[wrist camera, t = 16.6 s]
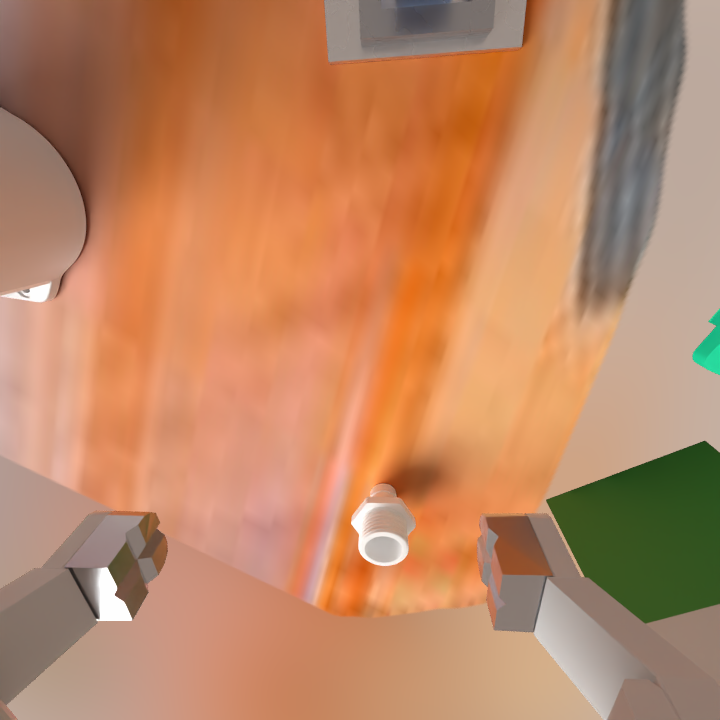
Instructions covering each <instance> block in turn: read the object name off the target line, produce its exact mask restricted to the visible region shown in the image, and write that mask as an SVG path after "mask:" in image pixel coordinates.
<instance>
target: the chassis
mask: <svg viewBox="0 0 720 720" xmlns="http://www.w3.org/2000/svg"><path fill="white" fill-rule="evenodd" d="M526 2H527V0H324V4H325V18H326V33H327V47H328V61H329V64H330V65H334V64H347V63H359V62H372V61H385V60H398V59H411V58H424V57H436V56H449V55H462V54H475V53H488V52H500V51H513V50H519V49H520V48H521V47H522V41H523V31H524V21H525V11H526Z"/></svg>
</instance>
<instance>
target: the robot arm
mask: <svg viewBox="0 0 720 720" xmlns="http://www.w3.org/2000/svg"><path fill="white" fill-rule="evenodd" d="M85 235H86V215H85V208H84V204H83V200H82V196H81V193H80V191H79V188H78V186H77V183H76V181H75V179H74V177H73V175H72V173H71V171H70V170H69V168H68V166H67V165H66V163H65V162H64V160H63V159H62V157H61V156H60V155H59V153H58V152H57V151H56V150H55V148H54V147H53V146H52V145H51V144H50V143H49V142H48V141H47V140H46V139H45V138H44V137H43V136H42V135H41V134H40V133H39V132H38V131H36V130H35V129H34V128H33V127H31V126H30V125H29V124H27V123H26V122H24V121H23V120H21V119H20V118H18V117H16V116H15V115H13V114H11V113H9V112H8V111H6V110H4V109H3V108H1V107H0V296H1V297H8V298H14V299H20V300H27V301H33V302H46V301H50V300H53V299H54V298H55V297H56V295H57V292H58V289H59V285H60V280H61V277H62V275H63V274H64V272H65V271H66V270H67V269H68V268H69V267H70V266H71V265H72V264H73V263H74V262H75V261H76V259H77V258H78V256H79V254H80V252H81V250H82V248H83V244H84V241H85ZM29 289H30V290H29ZM159 524H160V521H159V519H158V517H157V514H156V513H152V512H130V511H94V512H93V513H91V514H89V515H88V516H87V517H86V518H85V519H84V520H83V521H82V523H81V524H80V525H79V526H78V527H77V528H76V529H75V530H74V531H73V533H72V534H71V535H70V536H69V537H68V538H67V539H66V540H65V542H64V543H63V544H62V545H61V546H60V547H59V548H58V549H57V550H56V552H55V553H54V554H53V555H52V556H51V557H50V558H49V560H48V561H47V562H46V563H45V564H44V565H43V566H42V567H41V568H34V569H33V570H31V571H29V572H27V573H26V574H24V575H22V576H21V577H19V578H18V579H16V580H14V581H13V582H11V583H10V584H8V585H6V586H4V587H3V588H1V589H0V720H17V718H16V717H15V716H14V714H13V713H12V712H11V711H10V710H9V708H8V707H7V706H6V705H7V704H8V703H9V702H10V701H11V700H12V699H14V698H15V697H16V696H17V695H18V694H19V693H20V692H21V691H22V690H24V689H25V688H26V687H27V686H28V685H29V684H30V683H31V682H32V681H34V680H35V679H36V678H37V677H38V676H39V675H40V674H41V673H42V672H44V671H45V669H47V668H48V667H49V666H50V665H51V664H52V663H53V662H55V661H56V660H57V659H58V658H59V657H60V656H61V655H62V654H64V653H65V652H66V651H67V650H68V649H69V648H70V647H71V646H72V645H74V644H75V643H76V642H77V641H78V640H79V639H80V638H81V637H82V636H83V635H85V634H86V633H87V632H88V631H89V630H90V629H91V628H92V627H93V626H95V625H96V624H97V622H98V621H97V620H133V619H134V617H135V615H136V613H137V611H138V610H139V608H140V607H141V605H142V603H143V601H144V599H145V598H146V596H147V594H148V585H147V584H148V583H149V582H150V581H151V580H153V579H154V578H155V577H157V576H158V575H159V573H160V571H161V569H162V568H163V566H164V563H165V560H166V556H167V552H168V548H167V547H168V546H167V540H166V537H165V535H164V534H163V533H161V532H160V531H159V530H158V529H157V527H158V526H159ZM479 526H480V530H481V533H482V535H481V536H480V537H479V538H478V543H477V557H478V566H479V571H480V576H481V580H482V582H483V583H484V584H485V585H486V586H487V587H488V590H487V599H486V601H487V604H488V608H489V612H490V616H491V620H492V624H493V628H494V630H502V631H519V632H534V635H535V637H536V638H537V639H538V640H539V642H540V643H541V644H542V645H543V646H544V647H545V649H546V650H547V651H548V653H549V654H550V655H551V656H552V657H553V659H554V660H555V661H556V662H557V664H558V665H559V666H560V667H561V668H562V670H563V671H564V672H565V673H566V674H567V676H568V677H569V678H570V679H571V680H572V682H573V683H574V684H575V685H576V687H577V688H578V689H579V690H580V692H581V693H582V694H583V695H584V696H585V698H586V699H587V700H588V701H589V703H591V705H592V706H593V707H594V709H595V710H596V711H597V712H598V713H599V715H600V716H601V717H602V718H603V720H720V687H719V686H718V684H717V683H716V681H715V680H714V679H713V678H711V677H710V676H709V675H708V674H706V673H705V672H704V671H703V670H702V669H700V668H699V667H698V666H697V665H695V664H694V663H693V662H692V661H690V660H689V659H688V658H687V657H685V656H684V655H683V654H682V653H681V652H679V651H678V650H677V649H676V648H674V647H673V646H672V645H671V644H669V643H668V642H667V641H666V640H665V639H663V638H662V637H661V636H660V635H658V634H657V633H656V632H655V631H653V630H652V629H651V628H650V627H648V626H647V625H646V624H645V623H644V622H642V621H641V620H640V619H639V618H637V617H636V616H635V615H634V614H632V613H631V612H630V611H629V610H628V609H626V608H625V607H624V606H623V605H621V604H620V603H619V602H618V601H616V600H615V599H614V598H613V597H611V596H610V595H609V594H608V593H607V592H605V591H604V590H603V589H602V588H600V587H599V586H598V585H597V584H595V583H594V582H593V581H592V580H591V579H589V578H585V577H581V576H580V574H579V572H578V570H577V568H576V567H575V564H574V562H573V560H572V558H571V556H570V554H569V553H568V550H567V549H566V546H565V544H564V542H563V541H562V538H561V537H560V534H559V532H558V530H557V529H556V527H555V525H554V523H553V521H552V519H551V517H550V516H549V515H548V514H523V513H502V514H482V515H481V517H480V524H479Z"/></svg>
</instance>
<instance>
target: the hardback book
mask: <svg viewBox="0 0 720 720" xmlns="http://www.w3.org/2000/svg"><path fill="white" fill-rule="evenodd" d="M546 501H547V503H548V505H549V507H550V509H551V511H552V513H553V515H554V517H555V519H556V521H557V523H558V525H559V527H560V529H561V531H562V533H563V535H564V537H565V539H566V541H567V543H568V545H569V547H570V549H571V551H572V553H573V555H574V557H575V559H576V561H577V563H578V565H579V567H580V569H581V571H582V572H583V574H584V576H585V578H589V579H591V580H592V581H593V582H594V583H595V584H597V585H598V586H599V587H600V588H602V589H603V590H604V591H605V592H607V593H608V594H609V595H610V596H611V597H613V598H614V599H615V600H616V601H618V602H619V603H620V604H621V605H623V606H624V607H625V608H626V609H628V610H629V611H630V612H631V613H632V614H634V615H635V616H636V617H637V618H639V619H640V620H641V621H642V622H644V623H645V624H646V625H647V626H648V627H650V628H651V629H652V630H653V631H655V632H656V633H657V634H658V635H660V636H661V637H662V638H663V639H665V640H666V641H667V642H668V643H669V644H671V645H672V646H673V647H674V648H676V649H677V650H678V651H679V652H681V653H682V654H683V655H684V656H685V657H687V658H688V659H689V660H690V661H692V662H693V663H694V664H695V665H697V666H698V667H699V668H700V669H702V670H703V671H704V672H705V673H706V674H708V675H709V676H710V677H711V678H713V679H714V680H715V681H716V683H717V684H718V686H719V687H720V453H719V452H718V451H717V450H716V449H714V448H713V447H712V446H711V445H709V444H708V443H707V442H706V441H703V442H700V443H698V444H695V445H692V446H689V447H687V448H684V449H682V450H679V451H676V452H673V453H671V454H668V455H665V456H663V457H660V458H657V459H655V460H652V461H649V462H646V463H644V464H641V465H639V466H636V467H633V468H630V469H628V470H625V471H622V472H620V473H617V474H614V475H612V476H609V477H606V478H604V479H601V480H598V481H595V482H593V483H590V484H587V485H585V486H582V487H579V488H577V489H574V490H571V491H569V492H566V493H563V494H561V495H558V496H555V497H552V498H550V499H547V500H546Z"/></svg>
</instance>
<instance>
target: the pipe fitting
mask: <svg viewBox="0 0 720 720" xmlns="http://www.w3.org/2000/svg"><path fill="white" fill-rule="evenodd" d="M351 524H352V526H353V527H354V528H355V529H356V531H357V532H358V533H359V551H360V553H361V555H362V556H363V557H364V558H365V559H366V560H367V561H369V562H371V563H373V564H376V565H381V566H389V565H394V564H397V563H399V562H401V561H402V560H403V559H404V558H405V557H406V556H407V554H408V550H409V548H408V535H409V534H410V532H411V531H412V530H413V529H414V528H415V527H416V523H415V517H414V516H413V515H412V513H411V512H410V510H409V509H408V508H407V506H406V505H405V503H404V502H403V500H402V499H401V498H397V495H396V490H395V489H394V487H392V486H391V485H389V484H385V483H381V484H377V485H375V486H374V487H373V488H372V490H371V494H370V497H367V498H366V499H365V500H364V501H363V503H362V504H361V505H360V506H359V508H358V509H357V510H356V512H355V513H354V514H353V516H352V522H351Z"/></svg>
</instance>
